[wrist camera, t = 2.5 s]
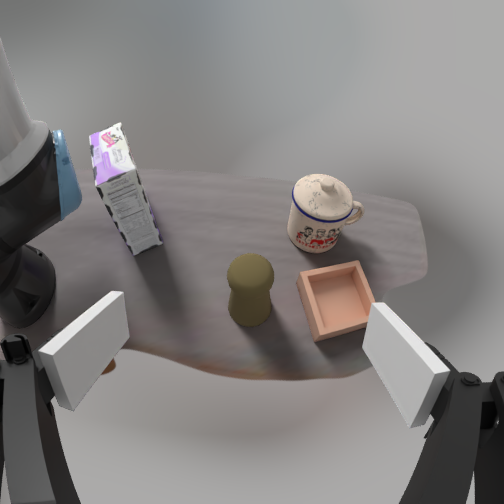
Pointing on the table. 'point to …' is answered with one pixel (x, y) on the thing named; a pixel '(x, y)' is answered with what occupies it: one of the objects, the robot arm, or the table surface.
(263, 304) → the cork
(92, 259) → the table surface
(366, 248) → the table surface
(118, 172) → the candy box
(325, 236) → the teacup with lid
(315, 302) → the tray
